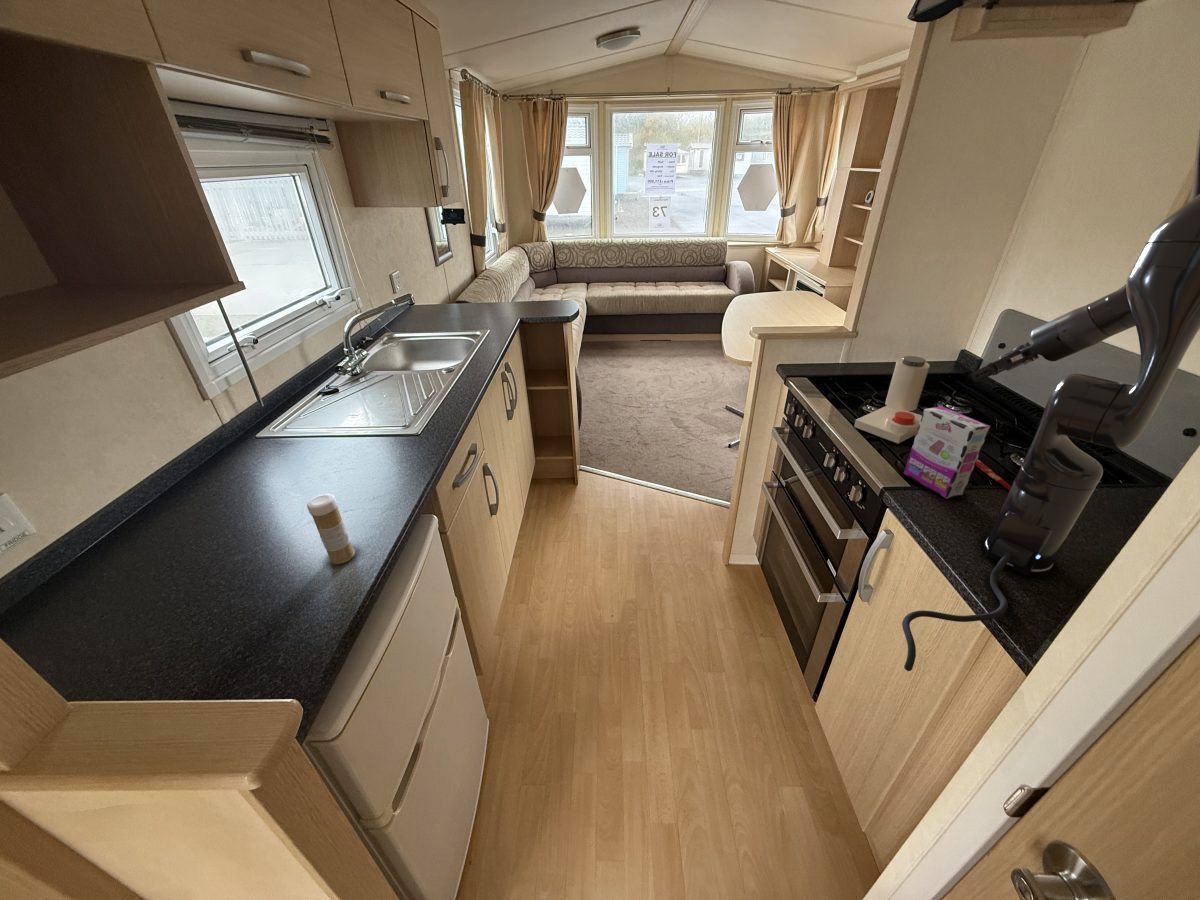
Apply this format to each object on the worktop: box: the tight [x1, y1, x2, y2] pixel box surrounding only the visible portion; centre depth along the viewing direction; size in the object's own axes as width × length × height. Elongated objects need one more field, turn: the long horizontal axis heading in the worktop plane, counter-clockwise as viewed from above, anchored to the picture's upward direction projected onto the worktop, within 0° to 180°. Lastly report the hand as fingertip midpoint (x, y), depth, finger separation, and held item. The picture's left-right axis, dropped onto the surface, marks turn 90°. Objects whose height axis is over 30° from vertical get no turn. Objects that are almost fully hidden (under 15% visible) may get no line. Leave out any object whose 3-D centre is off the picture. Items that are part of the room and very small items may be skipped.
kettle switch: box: [893, 412, 915, 425], centre depth 123 cm, size 4×4×2 cm
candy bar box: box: [903, 405, 991, 499], centre depth 101 cm, size 11×5×16 cm, turn 17°
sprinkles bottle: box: [306, 493, 356, 565], centre depth 89 cm, size 5×5×14 cm
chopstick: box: [974, 458, 1012, 492], centre depth 108 cm, size 2×24×1 cm, turn 179°
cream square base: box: [853, 405, 923, 444], centre depth 128 cm, size 16×13×4 cm
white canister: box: [884, 355, 931, 412], centre depth 128 cm, size 8×8×13 cm
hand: (982, 373), depth 106 cm, fingers open, 8 cm apart
